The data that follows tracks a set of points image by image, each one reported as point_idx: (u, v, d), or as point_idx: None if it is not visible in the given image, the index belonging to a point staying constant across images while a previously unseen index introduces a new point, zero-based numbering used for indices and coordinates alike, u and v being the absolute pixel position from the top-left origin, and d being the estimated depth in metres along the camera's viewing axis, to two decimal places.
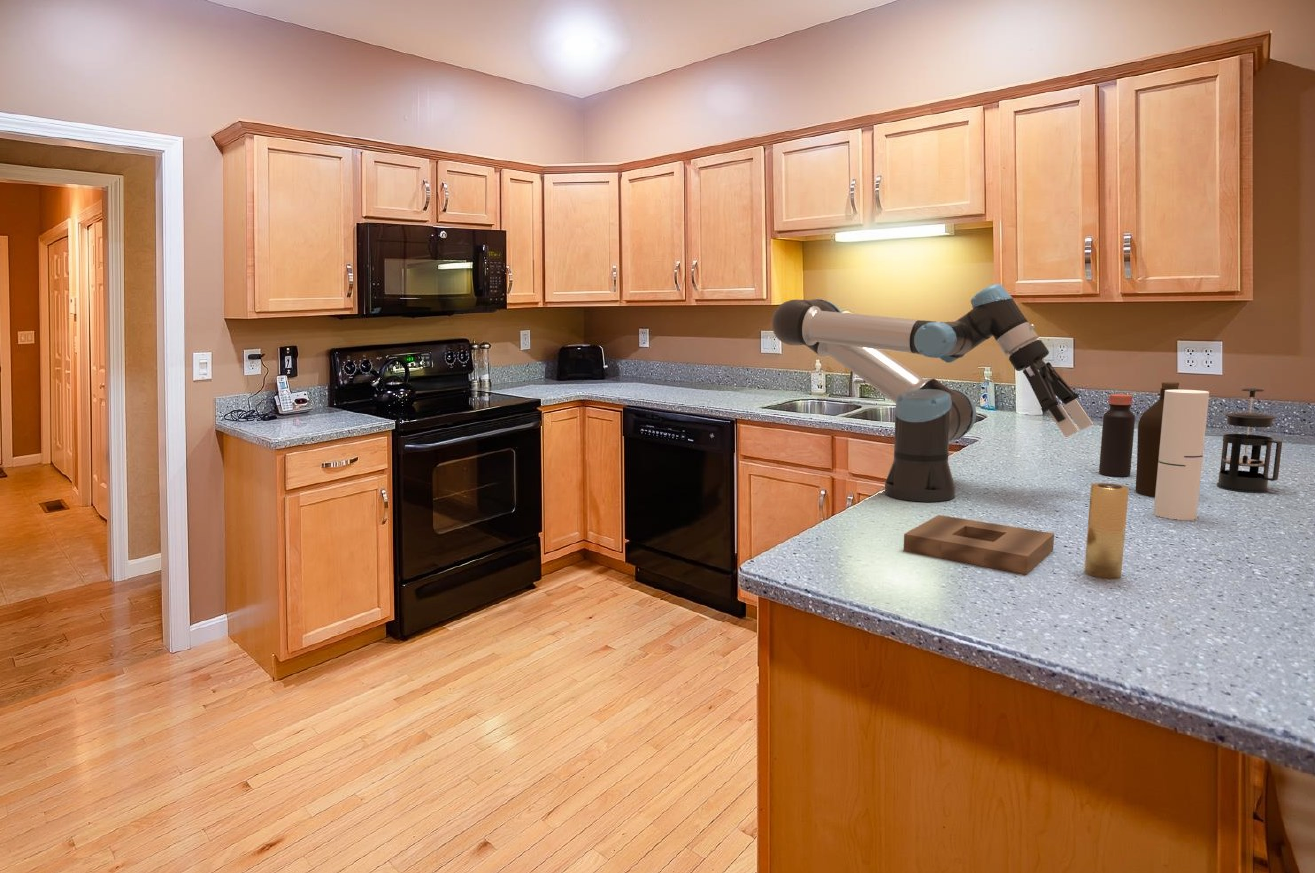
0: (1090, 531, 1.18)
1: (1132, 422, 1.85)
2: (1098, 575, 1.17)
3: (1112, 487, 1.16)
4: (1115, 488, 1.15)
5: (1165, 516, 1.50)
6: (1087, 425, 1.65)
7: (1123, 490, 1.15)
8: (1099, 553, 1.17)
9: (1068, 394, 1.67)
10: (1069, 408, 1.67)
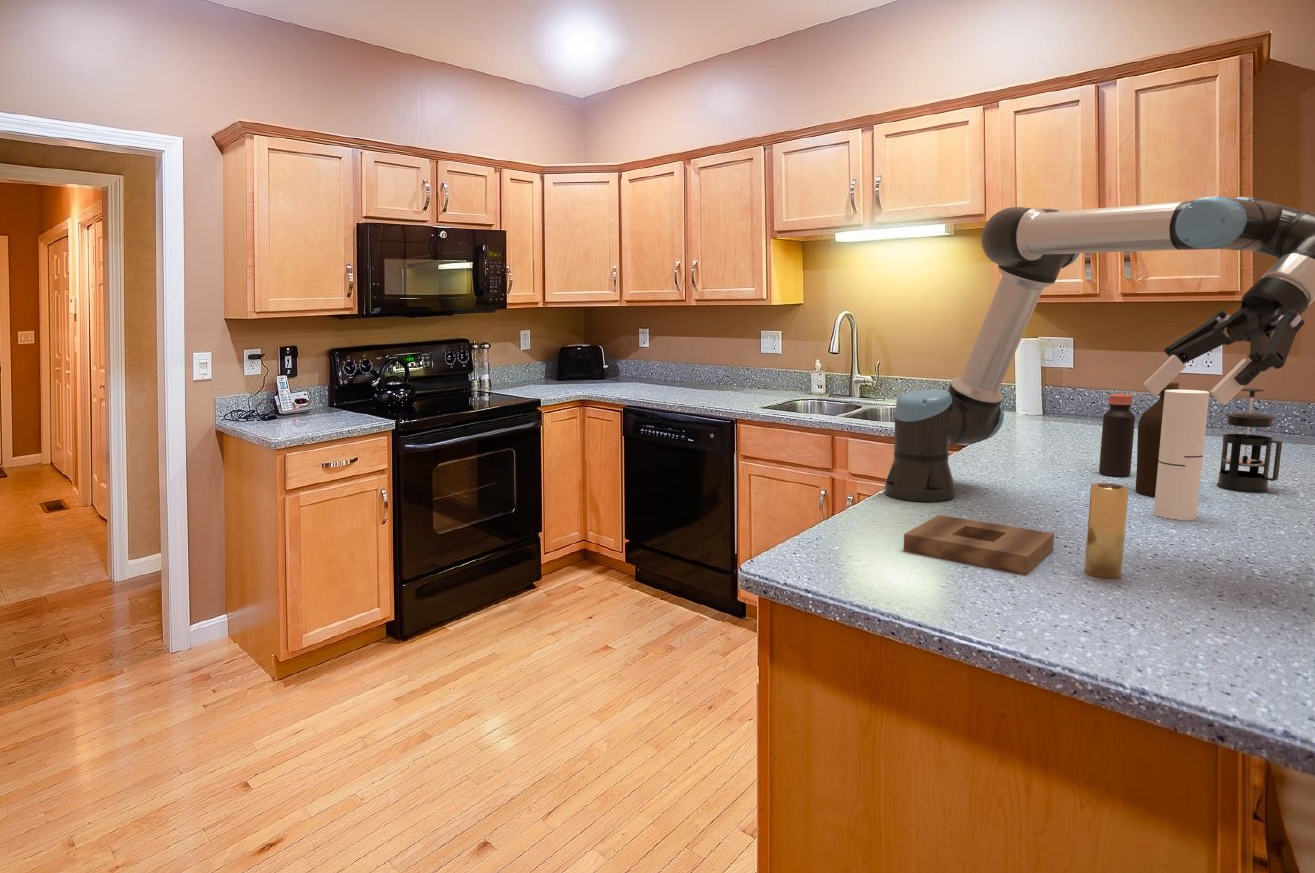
0: (1090, 531, 1.18)
1: (1132, 422, 1.85)
2: (1098, 575, 1.17)
3: (1112, 487, 1.16)
4: (1115, 488, 1.15)
5: (1165, 516, 1.50)
6: (1154, 390, 1.22)
7: (1123, 490, 1.15)
8: (1099, 553, 1.17)
9: (1192, 357, 1.21)
10: (1173, 363, 1.22)
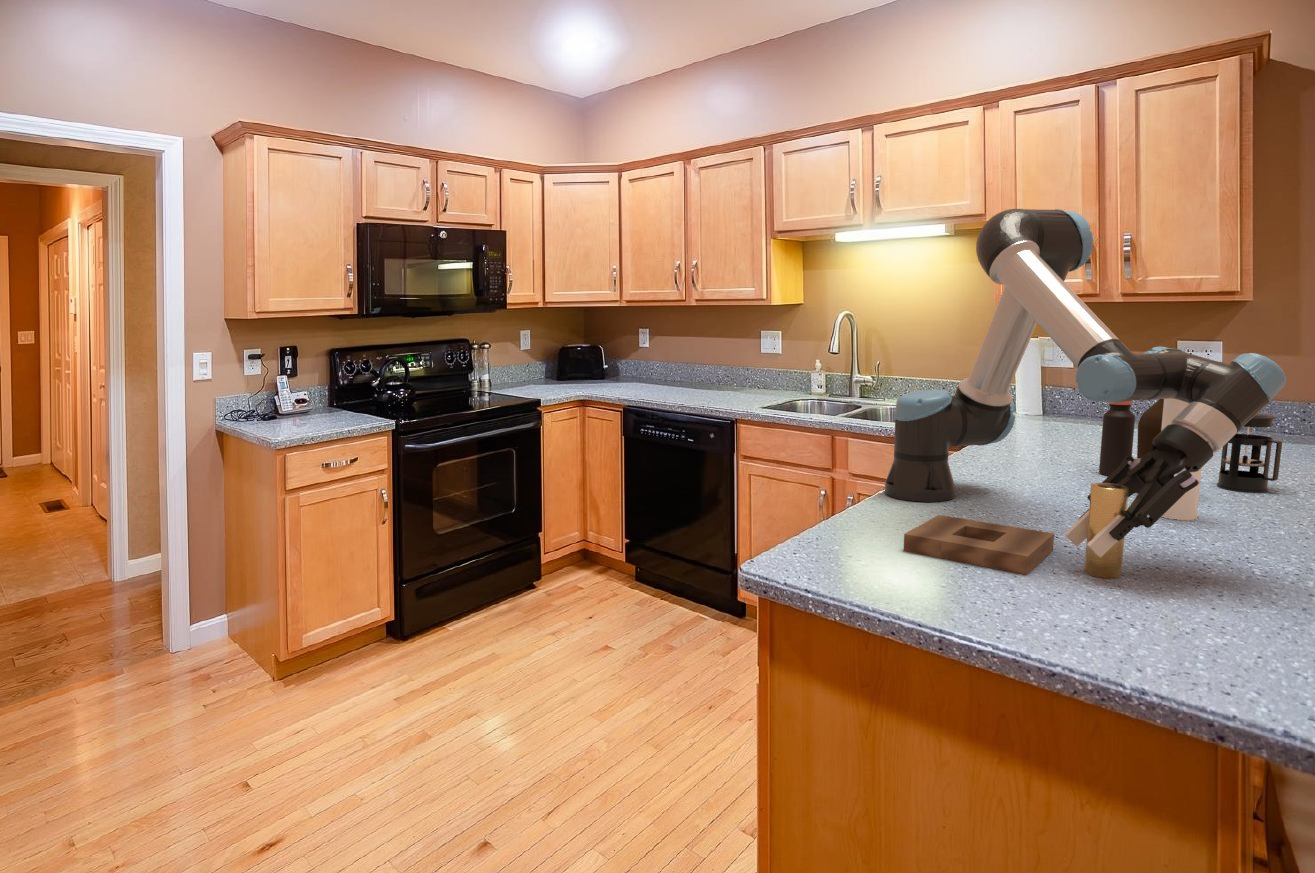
0: (1090, 531, 1.18)
1: (1132, 422, 1.85)
2: (1098, 575, 1.17)
3: (1112, 487, 1.16)
4: (1115, 488, 1.15)
5: (1165, 516, 1.50)
6: (1075, 541, 1.20)
7: (1123, 490, 1.15)
8: None
9: None
10: None
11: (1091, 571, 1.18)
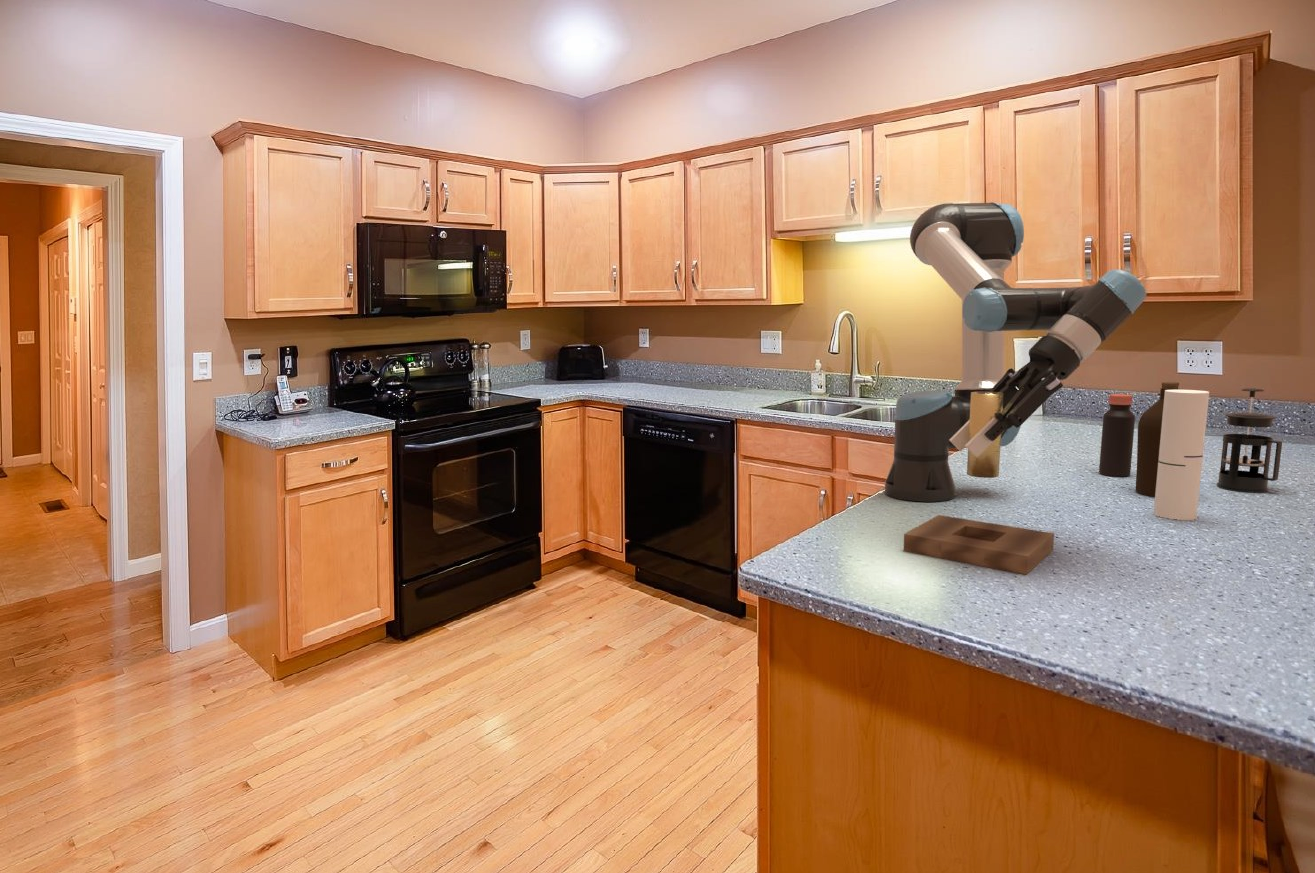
0: (970, 435, 1.28)
1: (1132, 422, 1.85)
2: (977, 475, 1.27)
3: (988, 393, 1.26)
4: (990, 393, 1.25)
5: (1165, 516, 1.50)
6: (958, 446, 1.31)
7: (997, 395, 1.25)
8: None
9: None
10: None
11: (971, 472, 1.28)
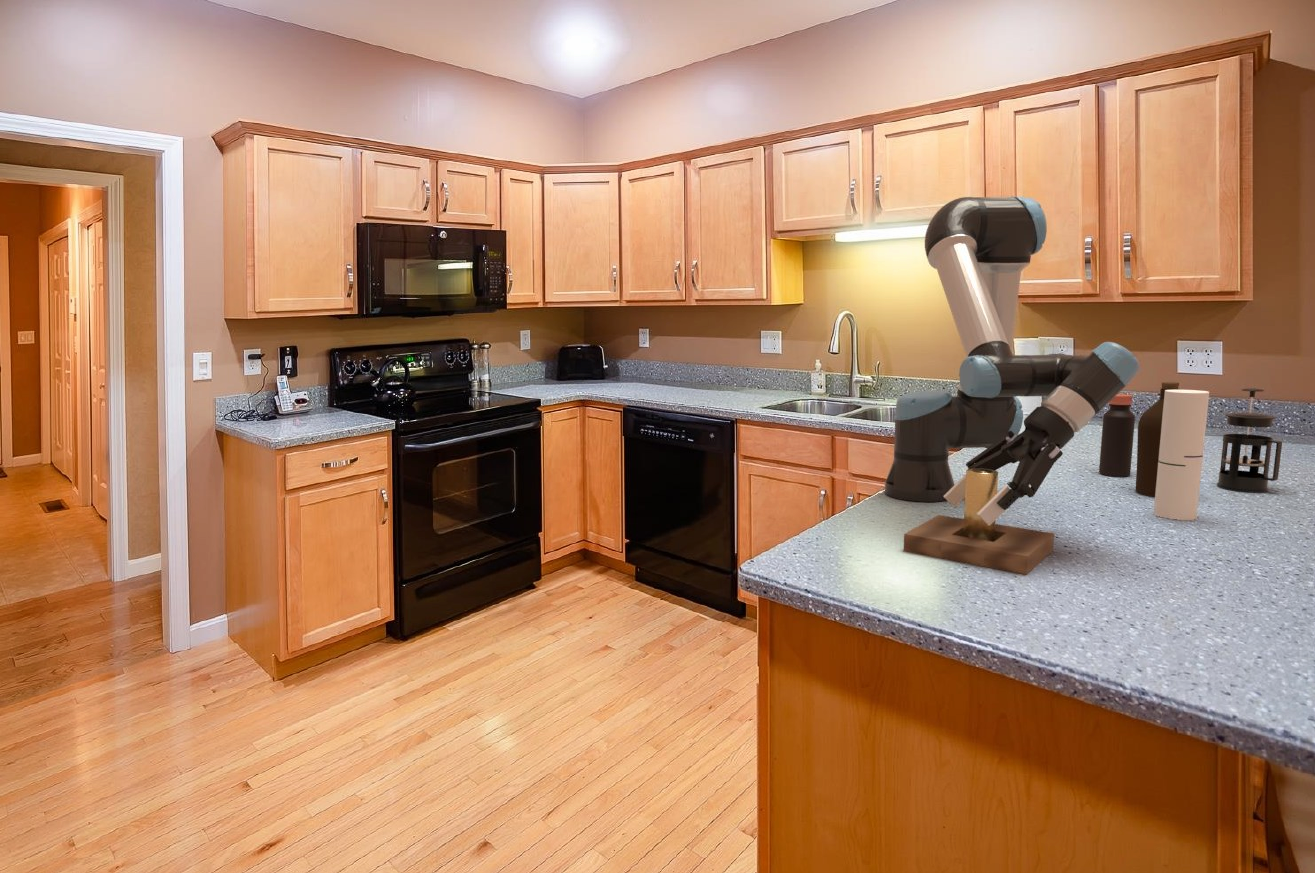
0: (965, 512, 1.30)
1: (1132, 422, 1.85)
2: None
3: (983, 472, 1.28)
4: (985, 472, 1.28)
5: (1165, 516, 1.50)
6: (952, 502, 1.36)
7: (992, 474, 1.27)
8: (972, 532, 1.29)
9: None
10: None
11: None
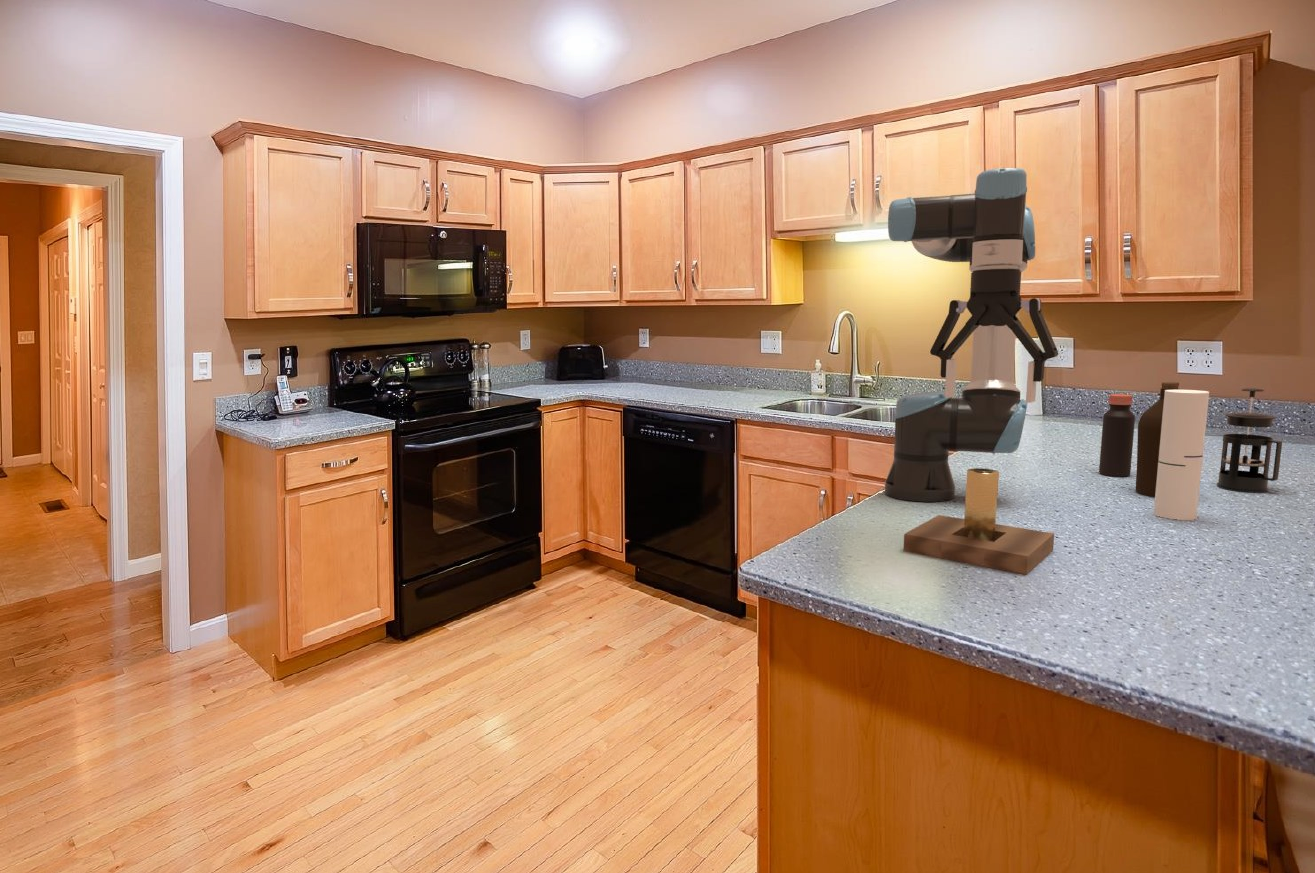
0: (966, 512, 1.30)
1: (1132, 422, 1.85)
2: None
3: (984, 472, 1.28)
4: (986, 473, 1.27)
5: (1165, 516, 1.50)
6: None
7: (993, 474, 1.27)
8: (972, 532, 1.29)
9: None
10: None
11: None
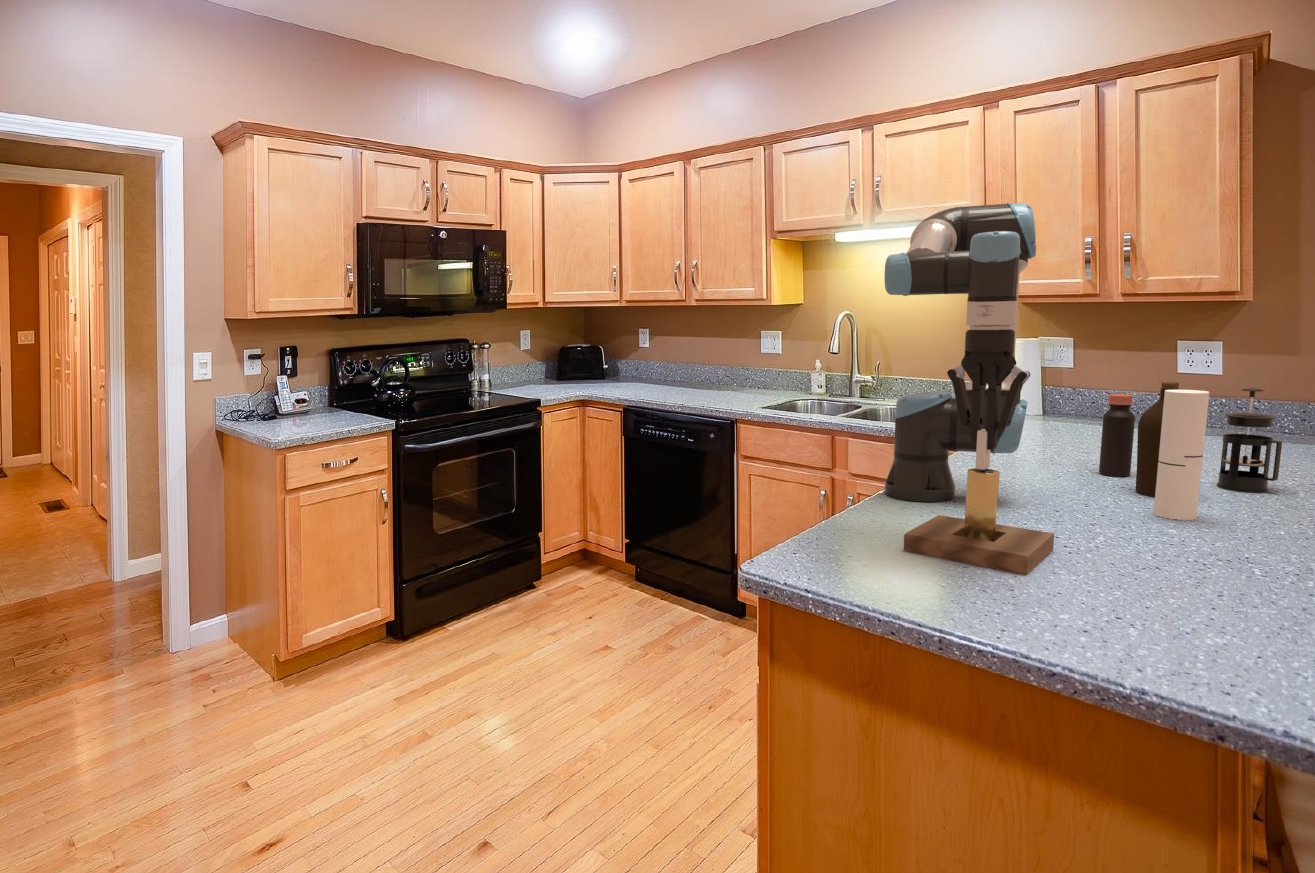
0: (966, 512, 1.30)
1: (1132, 422, 1.85)
2: None
3: (985, 472, 1.28)
4: (987, 473, 1.27)
5: (1165, 516, 1.50)
6: None
7: (994, 474, 1.27)
8: (973, 532, 1.29)
9: None
10: None
11: None
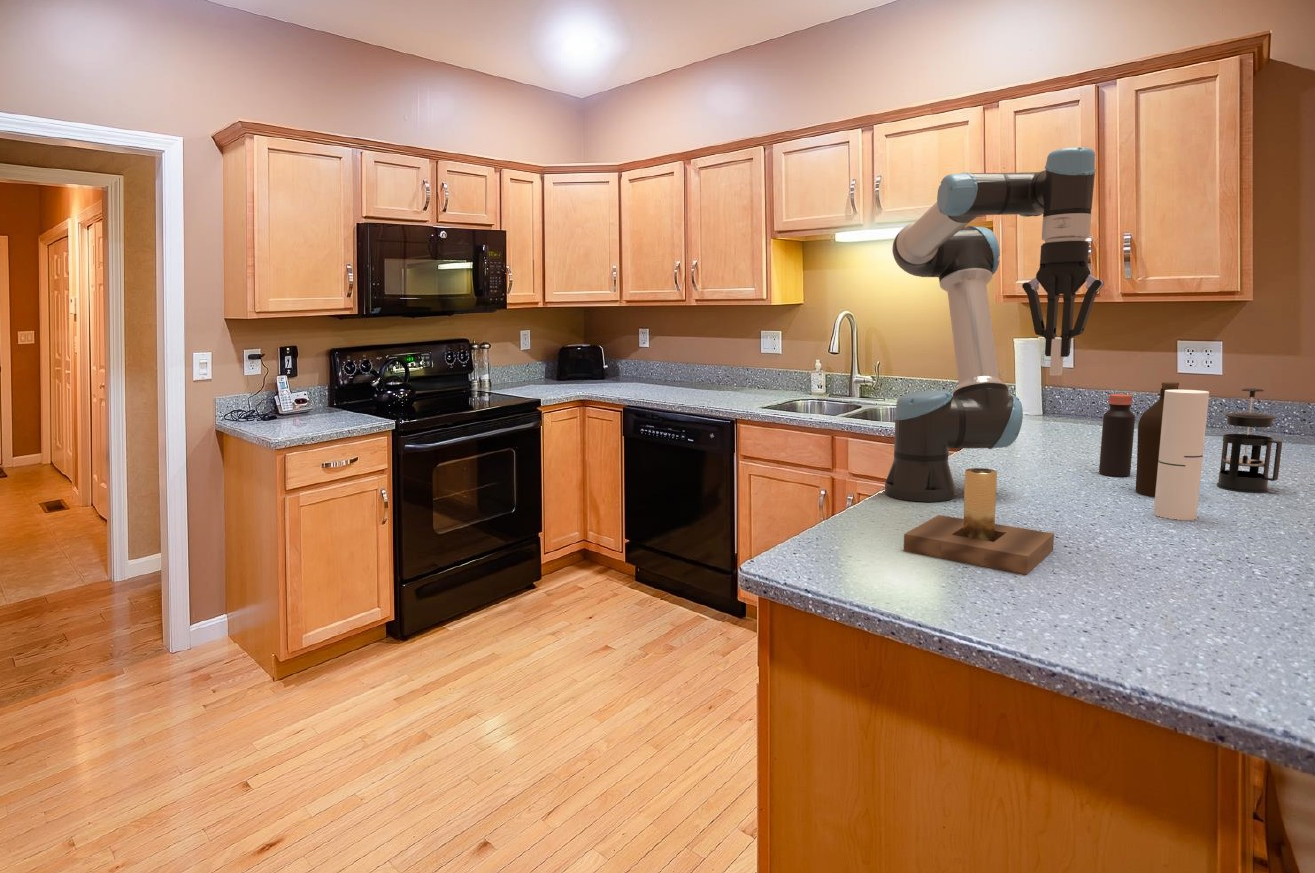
0: (965, 512, 1.30)
1: (1132, 422, 1.85)
2: None
3: (982, 472, 1.28)
4: (985, 473, 1.27)
5: (1165, 516, 1.50)
6: None
7: (991, 474, 1.27)
8: (972, 532, 1.29)
9: None
10: None
11: None
